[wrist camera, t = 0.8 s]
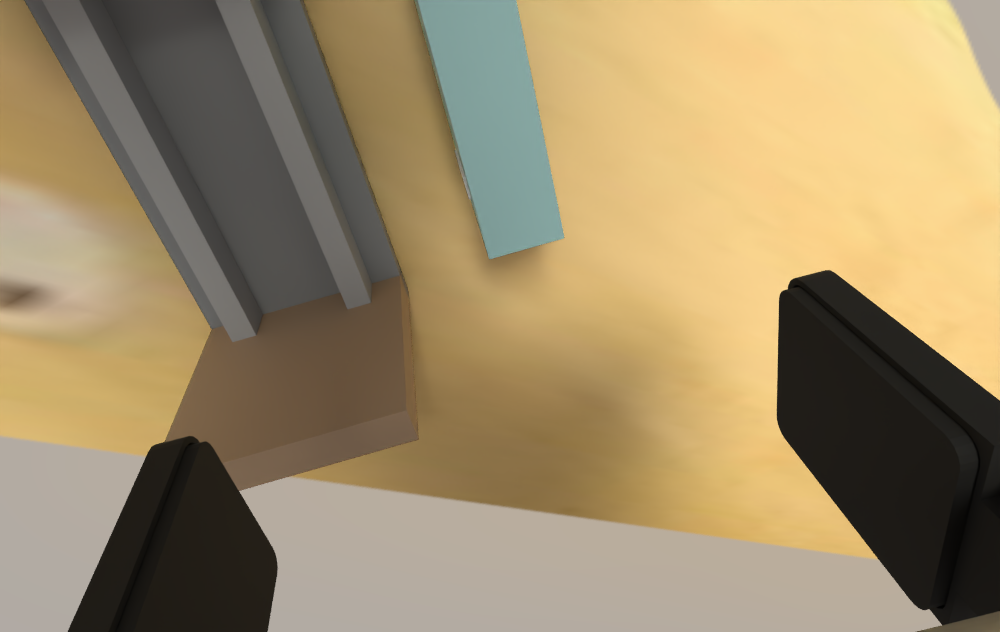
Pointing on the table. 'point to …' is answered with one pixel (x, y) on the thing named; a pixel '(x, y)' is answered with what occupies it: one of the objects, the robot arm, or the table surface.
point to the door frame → (253, 222)
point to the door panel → (493, 120)
